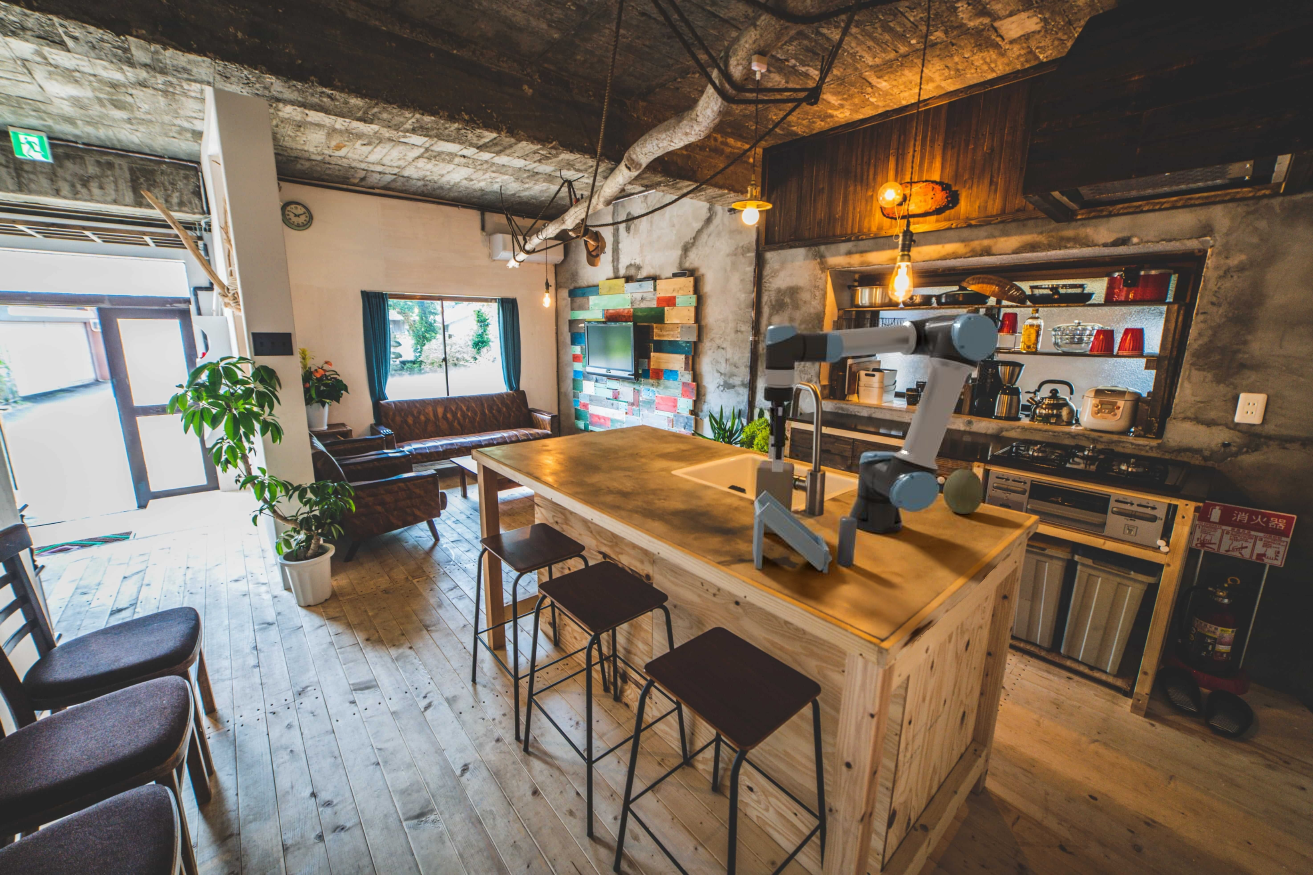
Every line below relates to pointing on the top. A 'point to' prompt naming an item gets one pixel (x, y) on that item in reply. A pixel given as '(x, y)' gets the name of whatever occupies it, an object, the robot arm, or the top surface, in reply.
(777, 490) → the wooden block
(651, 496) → the top surface
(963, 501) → the fruit
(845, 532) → the peg
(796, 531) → the chute
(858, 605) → the top surface
